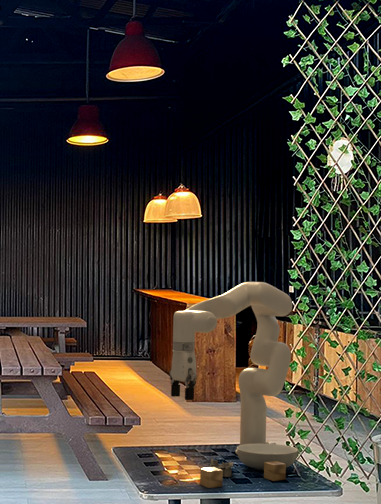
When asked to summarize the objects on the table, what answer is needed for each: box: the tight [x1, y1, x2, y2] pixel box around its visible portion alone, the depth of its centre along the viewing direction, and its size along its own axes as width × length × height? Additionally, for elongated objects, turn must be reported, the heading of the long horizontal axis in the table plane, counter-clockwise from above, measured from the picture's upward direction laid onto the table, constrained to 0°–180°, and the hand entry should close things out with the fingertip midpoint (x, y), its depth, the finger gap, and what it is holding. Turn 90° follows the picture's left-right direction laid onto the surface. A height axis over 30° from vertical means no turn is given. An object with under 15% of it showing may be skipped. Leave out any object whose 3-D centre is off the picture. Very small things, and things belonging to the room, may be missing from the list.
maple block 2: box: [263, 461, 287, 482], centre depth 272 cm, size 5×5×5 cm
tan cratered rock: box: [209, 458, 234, 478], centre depth 277 cm, size 11×8×4 cm
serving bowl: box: [236, 443, 299, 472], centre depth 288 cm, size 21×21×7 cm
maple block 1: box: [199, 466, 224, 489], centre depth 260 cm, size 5×5×5 cm
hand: (182, 398), depth 289 cm, fingers open, 9 cm apart
